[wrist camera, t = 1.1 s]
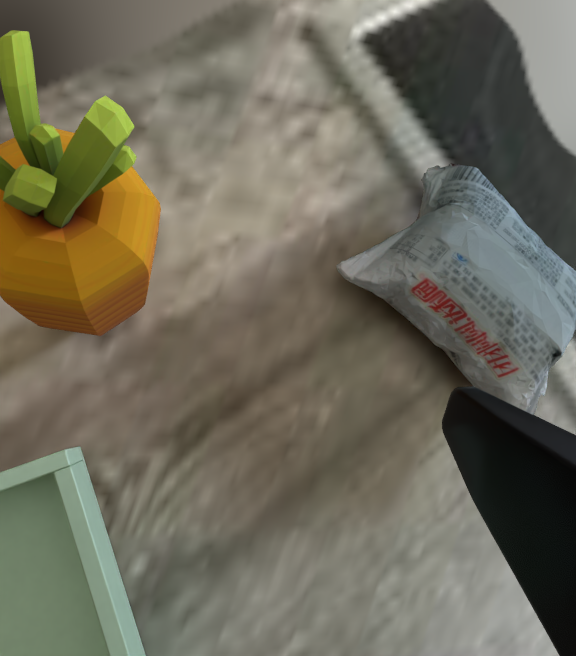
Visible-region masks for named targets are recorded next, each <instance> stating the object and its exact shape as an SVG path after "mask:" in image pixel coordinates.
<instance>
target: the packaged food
mask: <svg viewBox="0 0 576 656" xmlns="http://www.w3.org/2000/svg"><path fill="white" fill-rule="evenodd" d="M421 181H422V183H423V186H424V192H423V198H422V204H421V208H420V212H419V215H418V218H417V220H416V221H415V222H414V223H413V224H412V225H411V226H410V227H408V228H406V229H404V230H402V231H400V232H398V233H396V234H394V235H393V236H391V237H389V238H388V239H386V240H384V241H383V242H381V243H379V244H377V245H375V246H373V247H372V248H370V249H367V250H366V251H364V252H362V253H361V254H357V255H355V256H353V257H350V258H349V259H348V260H347V261H341V262H340V264H337V266H336V267H337V270H338V272H339V273H340V274H341V275H342V277H343V278H344V279H346V280H348V281H349V282H351V283H354V284H356V285H357V286H359V287H363V288H364V289H366V290H368V291H369V292H370V291H371V292H373V293H374V294H375V295H377V296H379V297H381V298H383V299H384V300H385V301H386V302H387V303H388V304H390V305H391V306H392V307H393V308H394V309H396V310H397V311H398V312H399V313H400V314H402V315H403V316H404V317H405V318H407V319H408V320H409V321H410V322H411V323H412V324H413V325H414V326H415V327H416V328H418V329H419V330H420V331H421V332H423V333H424V334H425V335H426V336H427V337H428V338H429V339H430V340H431V341H432V342H433V343H434V344H435V345H436V346H438V347H440V348H442V349H443V350H444V351H445V353H446V354H447V355H448V356H449V357H450V359H451V360H452V361H453V363H454V364H455V365H456V366H457V367H458V369H459V370H460V371H461V372H462V373H463V375H464V376H465V377H466V378H467V379H468V380H469V381H470V382H471V383H472V385H473V386H474V387H476V388H479V389H481V390H483V391H485V392H487V393H489V394H491V395H493V396H495V397H497V398H499V399H501V400H503V401H506V402H508V403H510V404H512V405H514V406H516V407H518V408H520V409H522V410H524V411H526V412H528V413H530V414H532V415H533V414H534V412H535V410H536V408H537V403H538V398H539V397H540V396H541V394H542V395H543V396H544V395H545V392H546V387H547V377H548V372H549V369H550V368H551V367H552V366H553V365H554V364H555V363H556V362H557V361H558V360H559V359H560V358H561V357H562V355H563V353H564V351H565V349H566V347H567V345H568V343H569V341H570V340H571V338H572V336H573V334H574V332H575V330H576V271H575V270H573V269H572V268H571V267H570V266H569V265H568V264H566V263H565V262H564V261H563V260H562V259H561V258H560V257H559V256H557V255H556V254H555V253H554V252H553V251H552V250H551V249H550V248H549V247H547V246H546V245H545V244H544V242H543V241H542V240H541V238H540V237H539V236H538V235H537V234H536V233H535V232H534V231H533V230H531V229H530V228H529V227H527V225H526V224H525V223H524V222H523V220H522V219H521V218H520V216H519V215H518V214H517V212H516V211H515V210H514V209H513V208H512V207H511V206H510V205H509V203H508V202H507V201H506V200H505V198H504V197H503V195H501V194H499V193H498V191H497V190H496V189H495V187H494V186H493V185H492V184H491V183H490V181H489V180H488V179H487V178H486V177H485V176H484V175H483V174H482V173H481V172H480V170H479V169H477V168H475V167H470V166H461V165H458V164H456V165H454V164H452V163H450V164H449V166H446V167H443V168H440V167H439V166H435V167H432V168H428V170H427V172H426V173H424V176H423V178H422V179H421ZM529 406H530V407H529Z"/></svg>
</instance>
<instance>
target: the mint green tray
mask: <svg viewBox="0 0 576 656" xmlns="http://www.w3.org/2000/svg"><path fill="white" fill-rule="evenodd" d="M0 656H146V655H145V652H144V649H143V645H142V642H141V639H140V636H139V633H138V629H137V626H136V623H135V620H134V617H133V613H132V610H131V607H130V604H129V601H128V597H127V594H126V591H125V588H124V585H123V582H122V578H121V575H120V572H119V569H118V566H117V562H116V559H115V556H114V553H113V550H112V546H111V543H110V540H109V537H108V534H107V530H106V527H105V524H104V521H103V518H102V515H101V511H100V508H99V505H98V502H97V499H96V495H95V492H94V489H93V486H92V483H91V479H90V476H89V473H88V470H87V467H86V463H85V460H84V457H83V454H82V451H81V447H80V446H78V447H74V448H70V449H65V450H62V451H59V452H56V453H53V454H51V455H48V456H45V457H42V458H39V459H37V460H34V461H31V462H28V463H25V464H22V465H20V466H17V467H14V468H11V469H8V470H6V471H3V472H0Z"/></svg>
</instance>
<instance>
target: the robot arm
mask: <svg viewBox="0 0 576 656" xmlns="http://www.w3.org/2000/svg"><path fill="white" fill-rule="evenodd" d="M442 429H443V433H444V436H445V438H446V440H447V443H448V445H449V447H450V449H451V452H452V454H453V456H454V459H455V461H456V463H457V465H458V468H459V470H460V472H461V475H462V477H463V479H464V482H465V484H466V486H467V488H468V491H469V493H470V495H471V497H472V499H473V501H474V503H475V505H476V507H477V509H478V511H479V512H480V514H481V516H482V518H483V519H484V521H485V523H486V525H487V527H488V528H489V530H490V532H491V534H492V536H493V537H494V539H495V541H496V543H497V545H498V546H499V548H500V550H501V552H502V553H503V555H504V557H505V559H506V561H507V562H508V564H509V566H510V568H511V570H512V571H513V573H514V575H515V577H516V578H517V580H518V582H519V584H520V586H521V587H522V589H523V591H524V593H525V595H526V596H527V598H528V600H529V602H530V604H531V605H532V607H533V609H534V611H535V612H536V614H537V616H538V618H539V620H540V621H541V623H542V625H543V627H544V629H545V630H546V632H547V634H548V636H549V637H550V639H551V641H552V643H553V645H554V646H555V648H556V650H557V652H558V654H559V655H560V656H576V435H574V434H572V433H570V432H568V431H566V430H564V429H562V428H559V427H557V426H555V425H553V424H551V423H549V422H547V421H545V420H543V419H541V418H539V417H537V416H535V415H532V414H530V413H528V412H526V411H524V410H522V409H520V408H518V407H516V406H514V405H512V404H510V403H508V402H506V401H503V400H501V399H499V398H497V397H495V396H493V395H491V394H489V393H487V392H485V391H483V390H481V389H479V388H476V387H458V388H456V389H454V390H453V391H452V392H451V395H450V398H449V401H448V404H447V407H446V410H445V413H444V416H443V420H442Z"/></svg>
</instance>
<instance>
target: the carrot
mask: <svg viewBox="0 0 576 656" xmlns="http://www.w3.org/2000/svg"><path fill="white" fill-rule="evenodd" d="M0 77H1V84H2V88H3V93H4V97H5V101H6V106H7V110H8V114H9V118H10V121H11V125H12V129H13V132H14V136H15V138H13V139H11V140H9V141H6V142H4V143H2V144H0V296H1V297H2V298H3V300H4V301H5V302H6V303H7V304H9V305H10V306H11V307H13V308H14V309H15V310H16V311H18V312H19V313H20V314H22V315H23V316H24V317H26V318H27V319H29V320H31V321H32V322H34V323H35V324H37V325H39V326H42V327H47V328H52V329H59V330H65V331H72V332H79V333H85V334H92V335H99V336H101V335H103V334H104V333H106V332H108V331H109V330H111V329H112V328H114V327H115V326H117V325H118V324H120V323H121V322H123V321H124V320H126V319H127V318H129V317H130V316H132V315H133V314H135V313H136V312H138V311H139V310H140V309H141V308H142V307H143V306H144V305H145V301H146V296H147V291H148V286H149V280H150V274H151V269H152V263H153V258H154V252H155V246H156V241H157V235H158V227H159V219H160V211H161V208H160V203H159V202H158V200H157V199H156V197H155V196H154V195H153V193H152V192H151V191H150V189H149V188H148V187H147V186H146V184H145V183H144V182H143V180H142V179H141V178H140V176H139V175H138V174H137V172H136V171H135V170H134V168H133V167H132V165H133V164H134V163H135V160H136V156H135V154H134V153H133V151H132V150H131V149H130V147H128V146H126V145H124V143H125V142H126V140H127V138H128V137H129V135H130V133H131V131H132V130H133V128H134V125H133V123H132V122H131V120H130V118H129V117H128V115H127V114H126V112H125V111H124V109H123V108H122V107H121V106H120V105H118V104H117V103H115V102H114V101H112V100H111V99H109V98H108V97H106V96H104V97H102V98H100V99H99V100H97V101H95V102H94V104H93V105H92V107H91V108H90V110H89V111H88V112H87V114H86V115H85V117H84V118H83V120H82V122H81V124H80V125H79V127H78V129H77V130H76V132H75V133H72V132H67V131H63V130H59V129H55V128H54V127H53V126H51V125H48V124H41V123H40V116H39V108H38V99H37V90H36V81H35V72H34V63H33V53H32V48H31V43H30V37H29V32H26V31H14V30H12V31H10V32H9V33H7V34H6V35H4V36H3V37H1V38H0Z"/></svg>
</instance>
